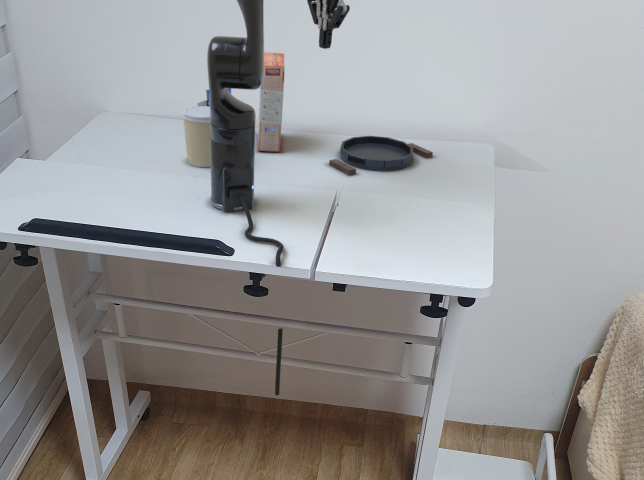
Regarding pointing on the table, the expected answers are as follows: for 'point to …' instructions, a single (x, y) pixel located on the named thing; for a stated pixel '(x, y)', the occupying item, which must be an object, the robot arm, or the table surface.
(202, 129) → the coffee cup
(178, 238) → the table surface
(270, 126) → the cracker box
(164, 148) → the table surface
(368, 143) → the plate
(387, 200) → the table surface
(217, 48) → the robot arm
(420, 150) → the walnut strips
